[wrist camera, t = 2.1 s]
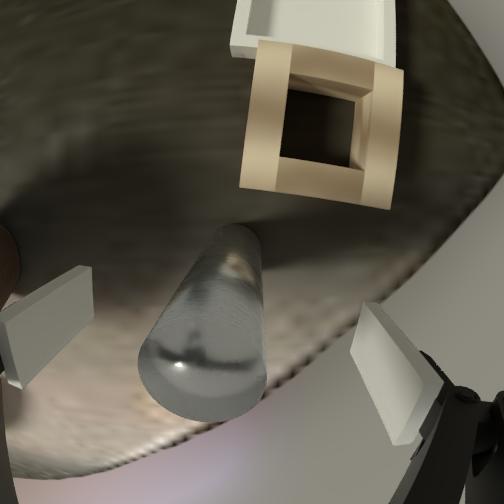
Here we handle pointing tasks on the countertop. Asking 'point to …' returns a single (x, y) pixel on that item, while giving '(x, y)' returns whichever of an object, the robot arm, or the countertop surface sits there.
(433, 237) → the countertop surface
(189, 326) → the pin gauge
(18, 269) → the plant pot
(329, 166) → the beige square frame
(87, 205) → the countertop surface
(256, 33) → the tray
